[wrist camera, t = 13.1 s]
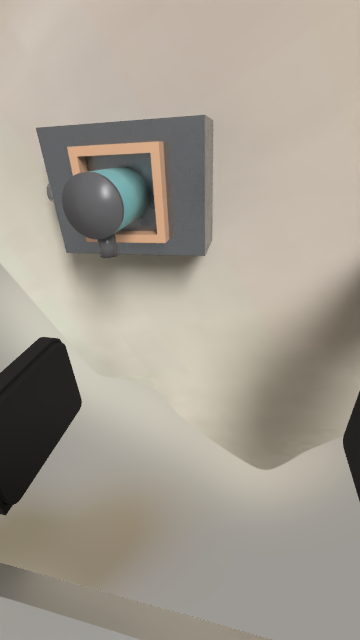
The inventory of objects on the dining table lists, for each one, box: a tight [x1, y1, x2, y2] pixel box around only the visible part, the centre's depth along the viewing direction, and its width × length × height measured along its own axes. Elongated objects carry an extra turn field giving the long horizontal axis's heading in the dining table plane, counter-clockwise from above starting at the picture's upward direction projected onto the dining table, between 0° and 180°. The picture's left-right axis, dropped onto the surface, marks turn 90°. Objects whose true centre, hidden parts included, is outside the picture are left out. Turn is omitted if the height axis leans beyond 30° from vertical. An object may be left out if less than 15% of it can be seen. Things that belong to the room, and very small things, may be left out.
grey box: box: [36, 115, 213, 256], centre depth 31 cm, size 18×12×8 cm, turn 92°
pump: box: [62, 167, 149, 258], centre depth 26 cm, size 5×7×7 cm
